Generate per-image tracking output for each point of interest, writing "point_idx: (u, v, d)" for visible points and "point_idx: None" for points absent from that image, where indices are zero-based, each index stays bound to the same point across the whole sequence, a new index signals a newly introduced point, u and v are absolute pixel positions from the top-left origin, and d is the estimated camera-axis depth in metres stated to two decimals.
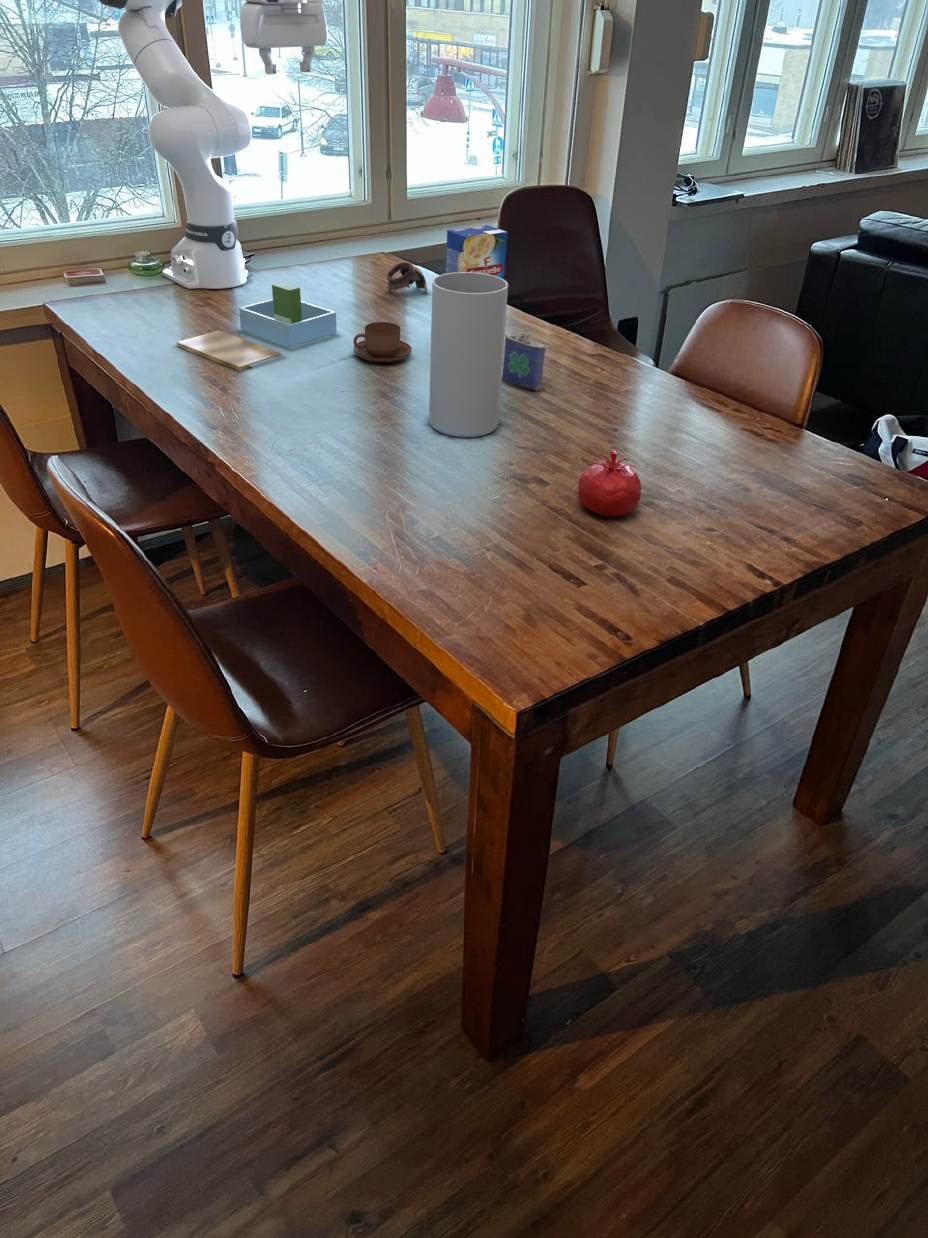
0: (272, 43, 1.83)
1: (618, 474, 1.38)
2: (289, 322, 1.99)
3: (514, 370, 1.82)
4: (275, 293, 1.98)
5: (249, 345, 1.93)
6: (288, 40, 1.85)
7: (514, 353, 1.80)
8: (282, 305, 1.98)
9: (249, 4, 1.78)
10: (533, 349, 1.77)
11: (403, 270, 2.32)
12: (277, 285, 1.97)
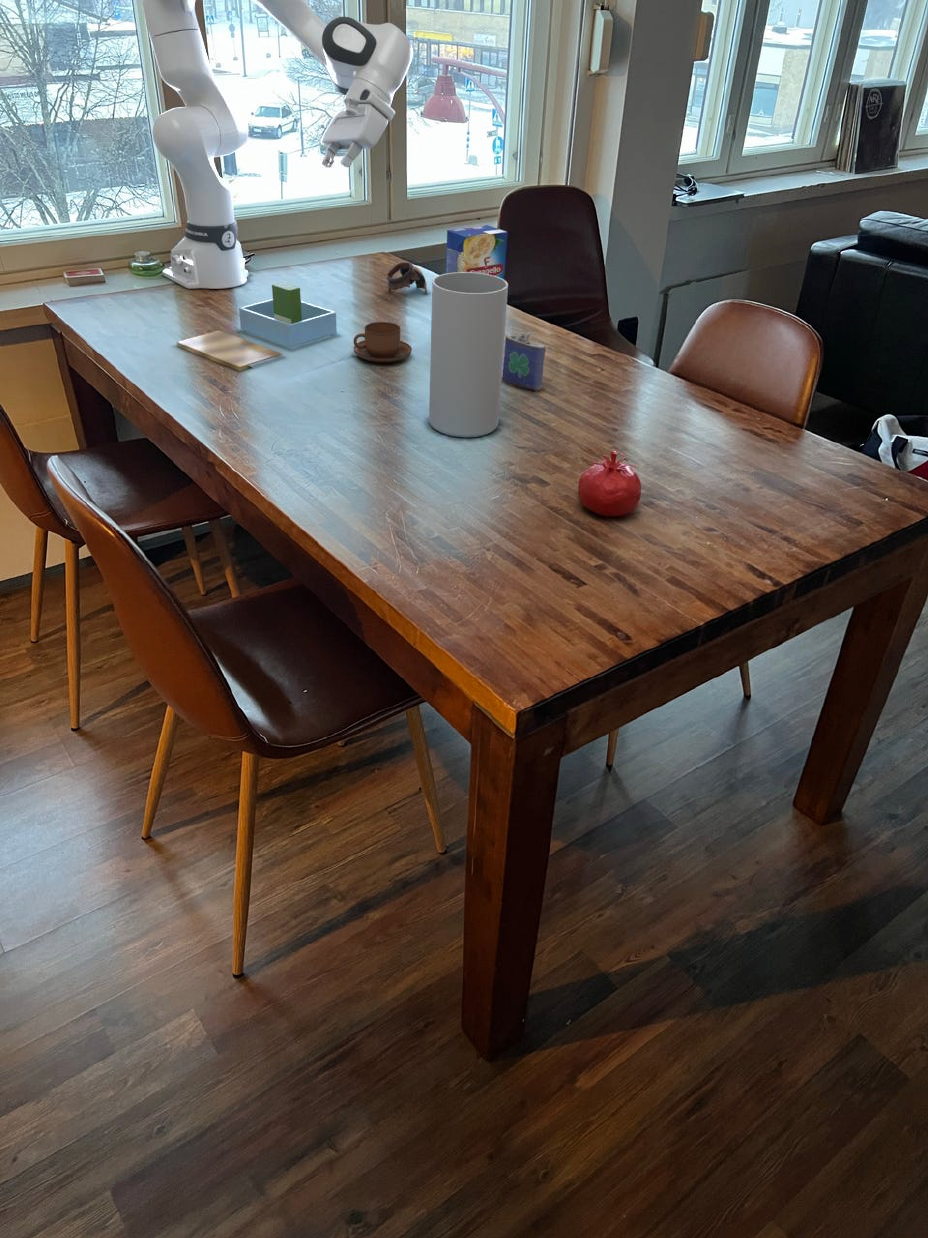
0: None
1: (618, 474, 1.38)
2: (289, 322, 1.99)
3: (514, 370, 1.82)
4: (275, 293, 1.98)
5: (249, 345, 1.93)
6: None
7: (514, 353, 1.80)
8: (282, 305, 1.98)
9: (377, 111, 1.89)
10: (533, 349, 1.77)
11: (403, 270, 2.32)
12: (277, 285, 1.97)
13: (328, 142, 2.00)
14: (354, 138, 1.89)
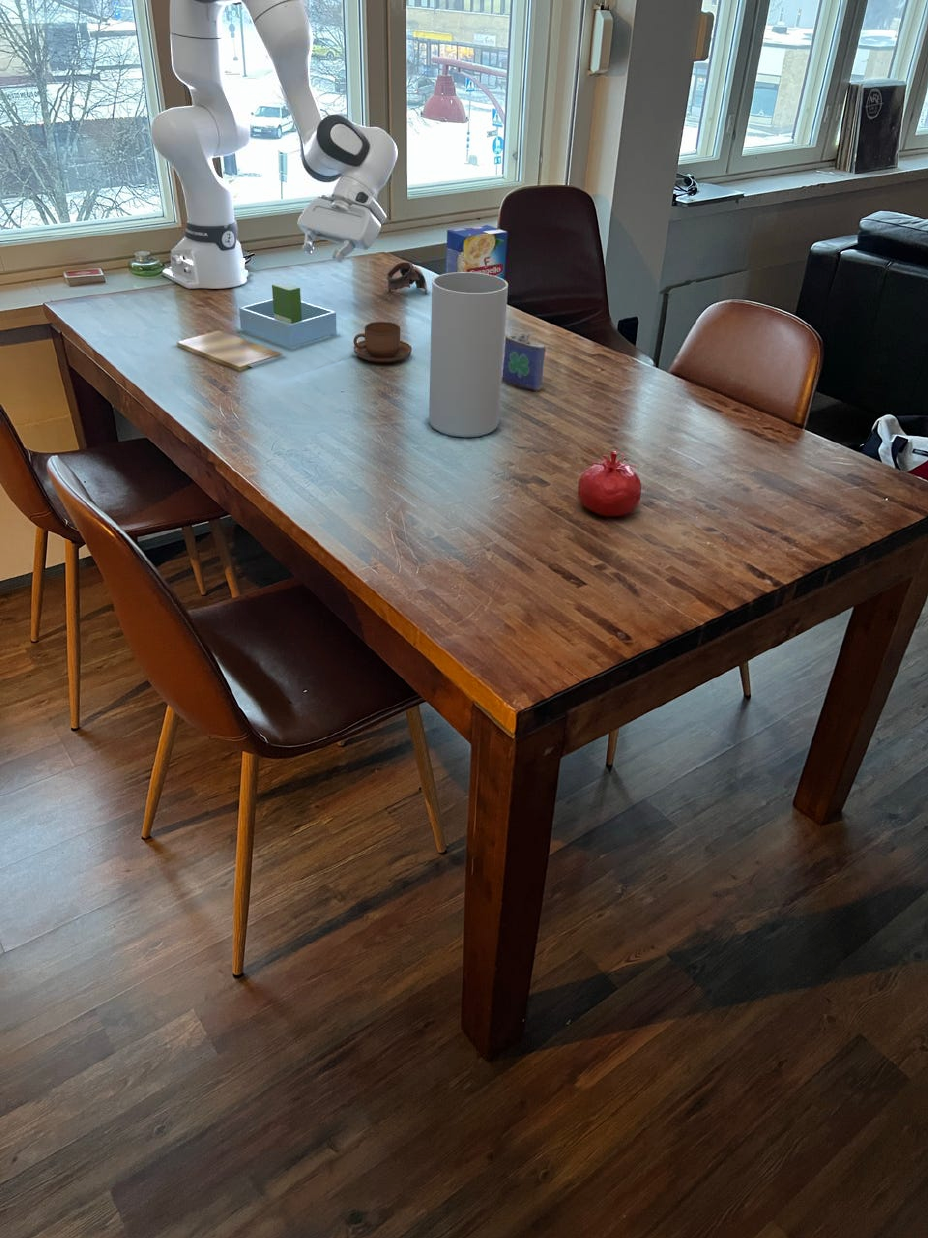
0: None
1: (618, 474, 1.38)
2: (289, 322, 1.99)
3: (514, 370, 1.82)
4: (275, 293, 1.98)
5: (249, 345, 1.93)
6: None
7: (514, 353, 1.80)
8: (282, 305, 1.98)
9: (374, 215, 1.97)
10: (533, 349, 1.77)
11: (403, 270, 2.32)
12: (277, 285, 1.97)
13: (308, 229, 2.03)
14: (351, 238, 1.96)
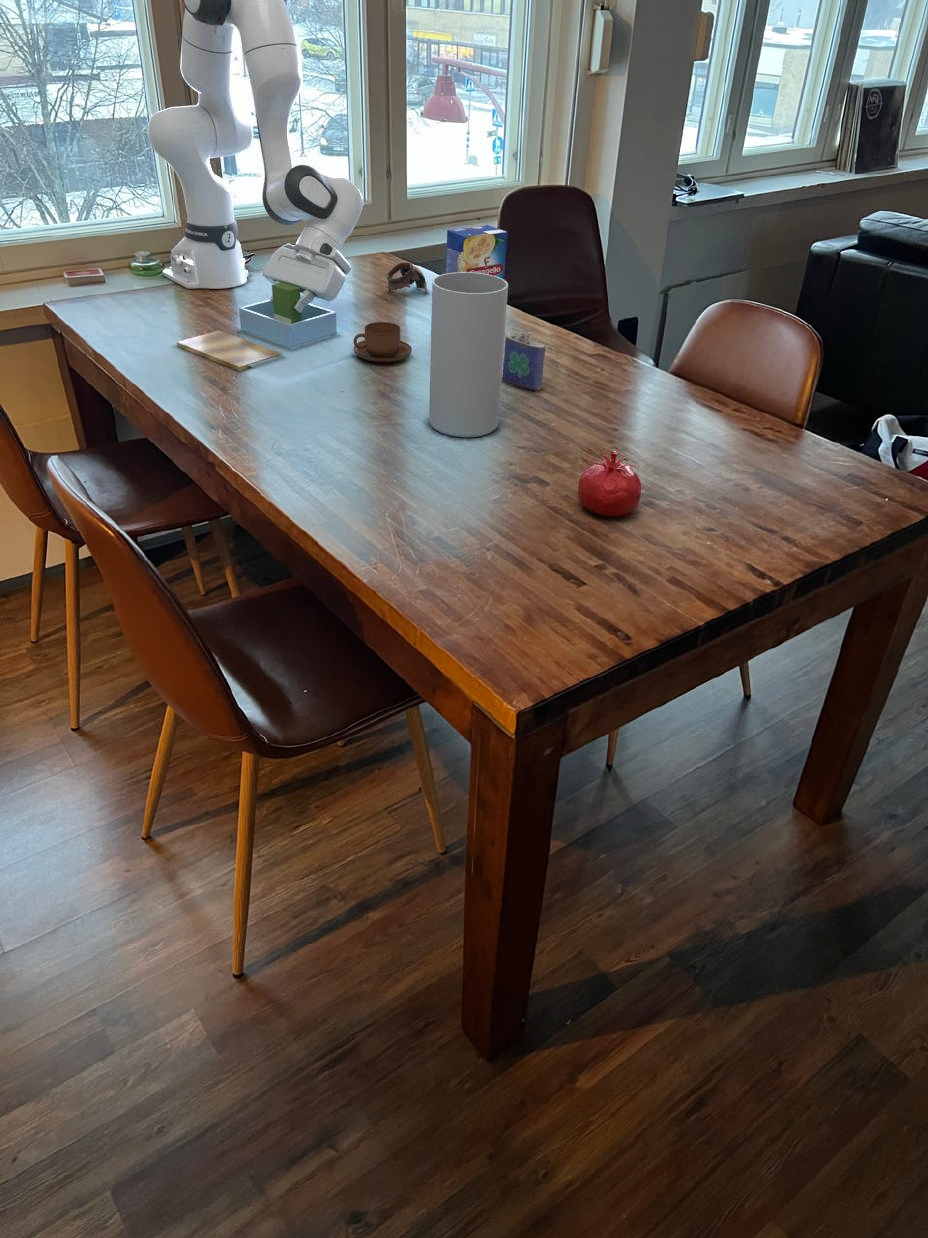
0: None
1: (618, 474, 1.38)
2: (289, 322, 1.99)
3: (514, 370, 1.82)
4: (275, 293, 1.98)
5: (249, 345, 1.93)
6: None
7: (514, 353, 1.80)
8: (282, 305, 1.98)
9: (338, 266, 1.95)
10: (533, 349, 1.77)
11: (403, 270, 2.32)
12: (277, 285, 1.97)
13: (272, 278, 2.01)
14: (315, 290, 1.94)
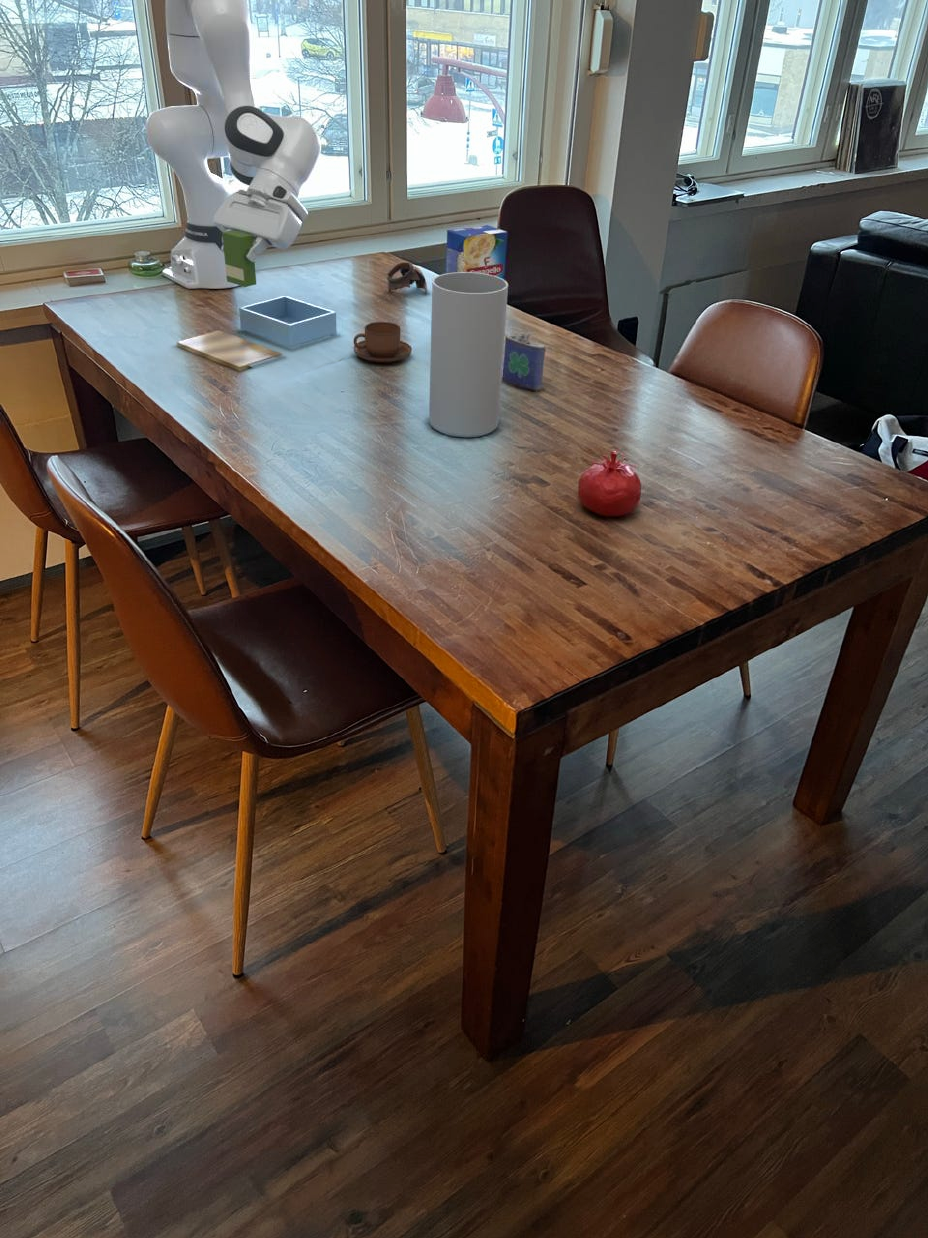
0: None
1: (618, 474, 1.38)
2: (241, 273, 1.84)
3: (514, 370, 1.82)
4: (226, 241, 1.83)
5: (249, 345, 1.93)
6: None
7: (514, 353, 1.80)
8: (234, 254, 1.83)
9: (293, 211, 1.80)
10: (533, 349, 1.77)
11: (403, 270, 2.32)
12: (228, 232, 1.83)
13: (224, 226, 1.86)
14: (268, 236, 1.80)
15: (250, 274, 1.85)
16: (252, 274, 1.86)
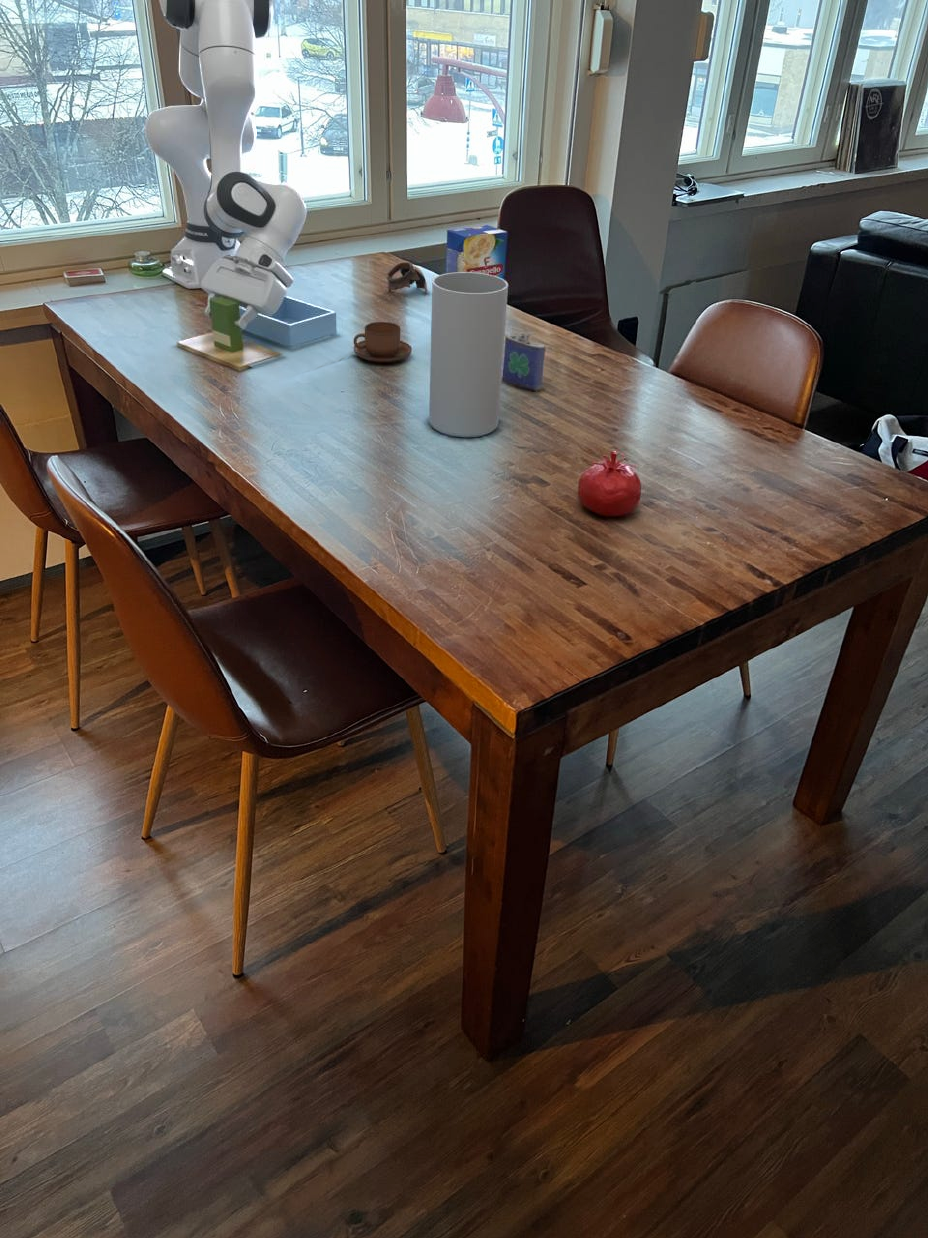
0: None
1: (618, 474, 1.38)
2: (228, 339, 1.88)
3: (514, 370, 1.82)
4: (213, 308, 1.87)
5: (249, 345, 1.93)
6: None
7: (514, 353, 1.80)
8: (220, 321, 1.87)
9: (278, 279, 1.84)
10: (533, 349, 1.77)
11: (403, 270, 2.32)
12: (215, 300, 1.86)
13: (211, 291, 1.90)
14: (253, 304, 1.83)
15: (237, 340, 1.89)
16: (238, 340, 1.90)
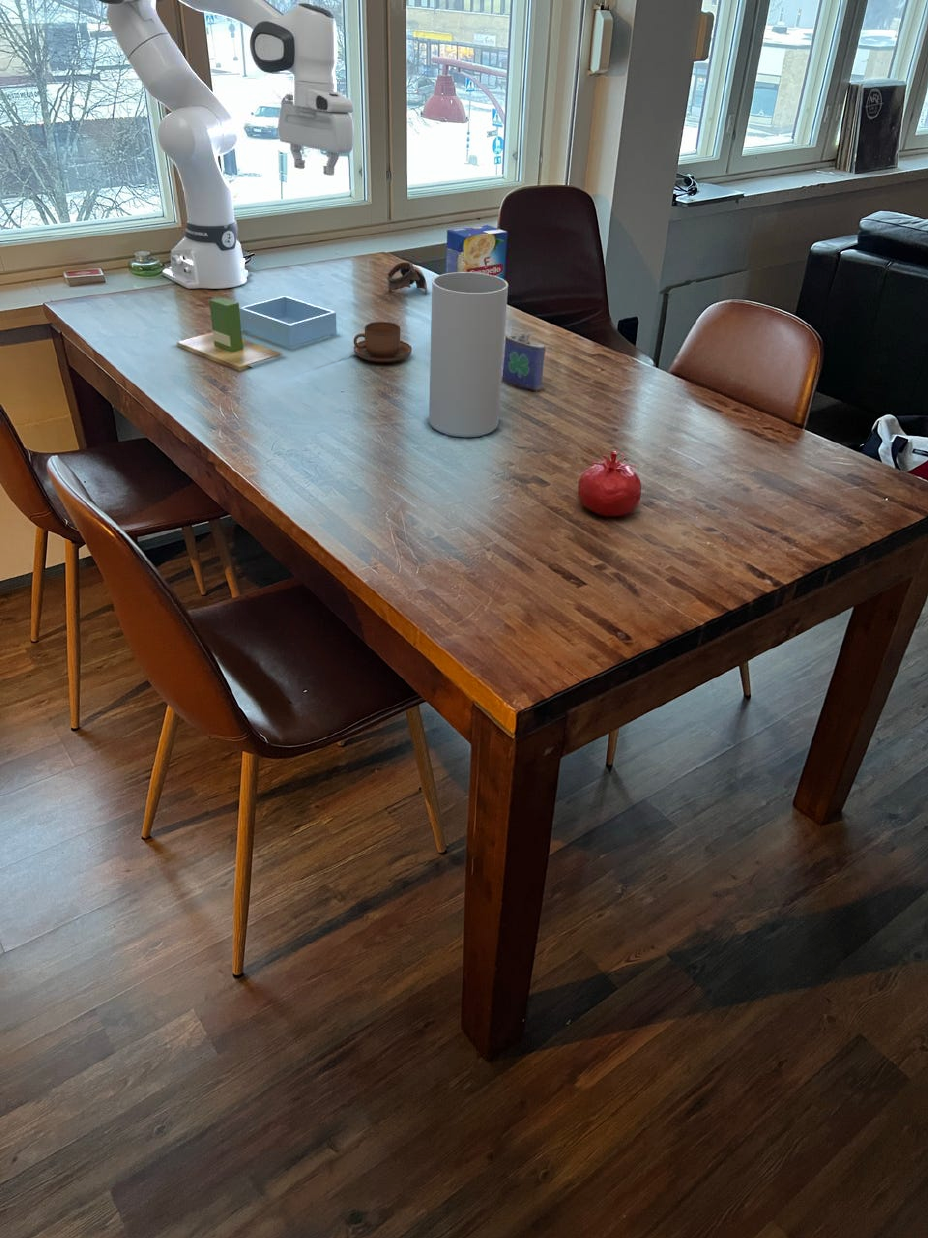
0: None
1: (618, 474, 1.38)
2: (228, 339, 1.88)
3: (514, 370, 1.82)
4: (213, 308, 1.87)
5: (249, 345, 1.93)
6: None
7: (514, 353, 1.80)
8: (220, 321, 1.87)
9: (340, 114, 1.89)
10: (533, 349, 1.77)
11: (403, 270, 2.32)
12: (215, 300, 1.86)
13: (290, 143, 1.99)
14: (331, 151, 1.92)
15: (237, 340, 1.89)
16: (238, 340, 1.90)
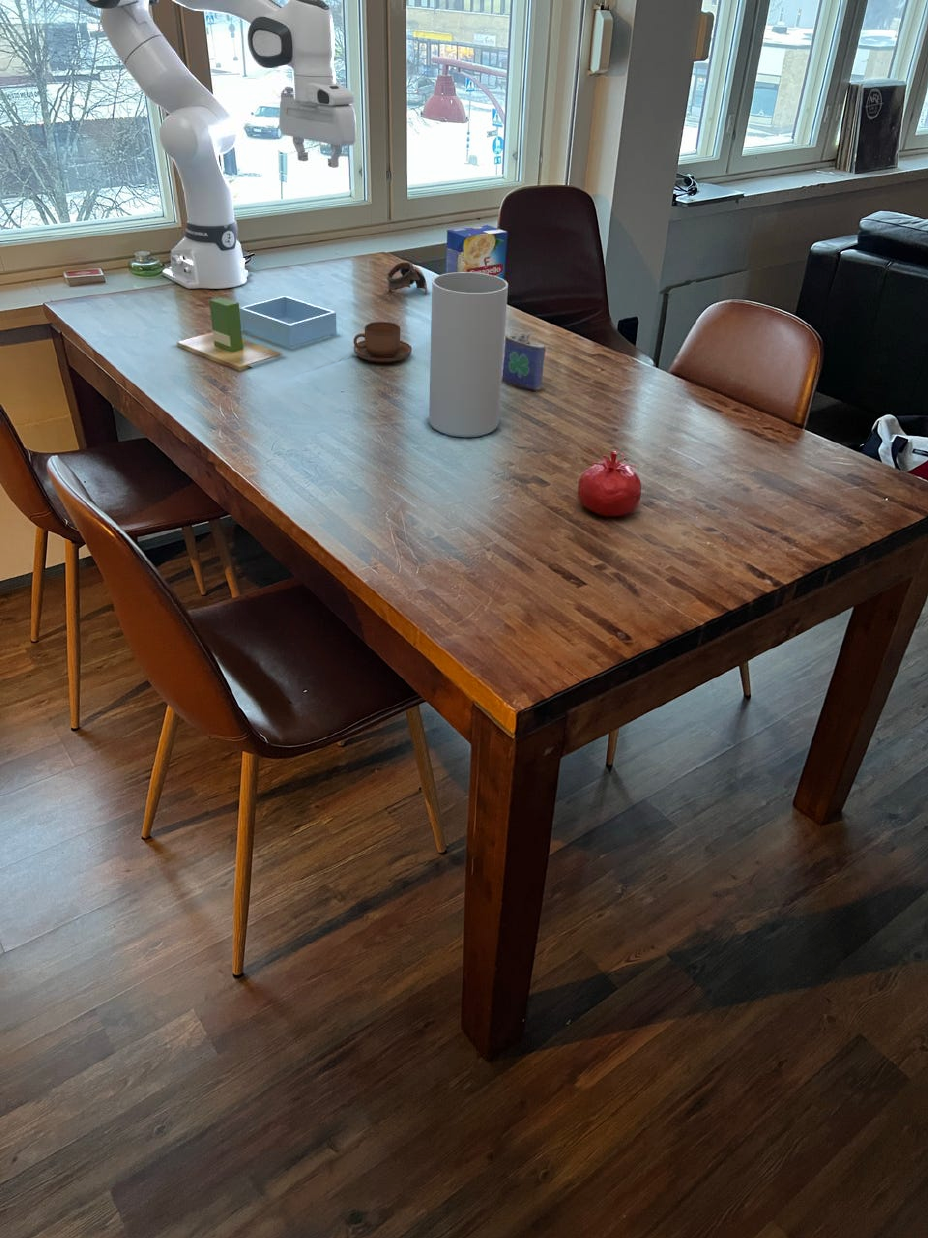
0: None
1: (618, 474, 1.38)
2: (228, 339, 1.88)
3: (514, 370, 1.82)
4: (213, 308, 1.87)
5: (249, 345, 1.93)
6: None
7: (514, 353, 1.80)
8: (220, 321, 1.87)
9: (342, 107, 1.90)
10: (533, 349, 1.77)
11: (403, 270, 2.32)
12: (215, 300, 1.86)
13: (293, 136, 2.00)
14: (335, 144, 1.93)
15: (237, 340, 1.89)
16: (238, 340, 1.90)
